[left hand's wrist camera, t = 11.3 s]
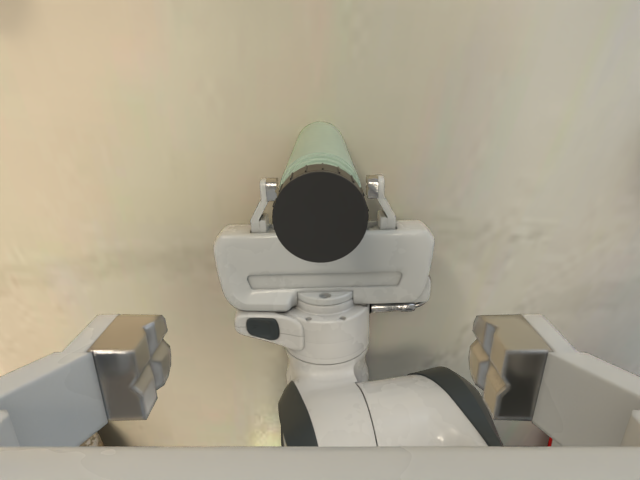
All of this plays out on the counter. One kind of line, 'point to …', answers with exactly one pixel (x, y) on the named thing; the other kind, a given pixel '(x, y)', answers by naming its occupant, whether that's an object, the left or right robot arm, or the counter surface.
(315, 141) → the bottle
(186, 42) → the counter surface
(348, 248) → the cap
